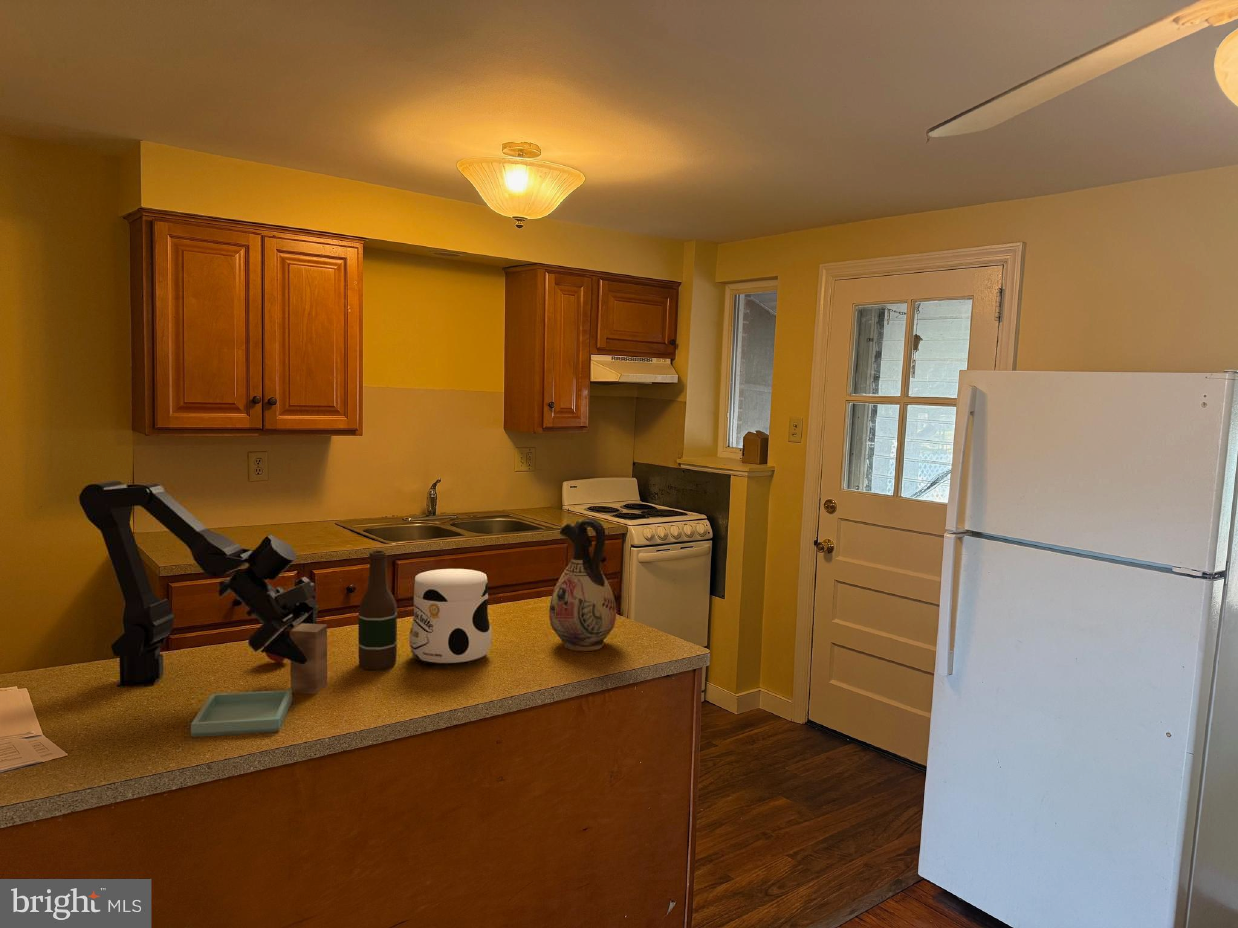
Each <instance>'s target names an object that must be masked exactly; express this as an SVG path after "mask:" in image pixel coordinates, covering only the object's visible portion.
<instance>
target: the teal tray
mask: <svg viewBox="0 0 1238 928" xmlns="http://www.w3.org/2000/svg"><path fill="white" fill-rule="evenodd" d="M292 702H293V693H292V690H291V689H282V690H281V689H280V690H279V689H278V690H265V691H264V690H263V691H245V692H243V691H242V692H227V693H226V692H222V693H211V694H210V696H209V697H208V698H207V700H206V702H204V704H203V706H202V707H201V709H200V710H199V711H198V713H197V715H195V718H194V719H193V721H192V722H191V724H190V737H191V738H198V737H199V738H200V737H203V738H204V737H217V736H219V737H220V736H231V735H249V734H264V733H279V732H280V731H281V728H282V726H283V724H284V722H285V719H286V717H287V714H288V712H289V710H290V706H291V705H292Z"/></svg>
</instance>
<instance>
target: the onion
mask: <svg viewBox="0 0 1238 928" xmlns="http://www.w3.org/2000/svg"><path fill="white" fill-rule="evenodd" d="M264 647H265V645H264ZM264 647H263V648H264ZM264 654H265V656H266V657H267V658H268V659H270V660H271V661H272V662H274V663H277V664H281V663H283V662H285V660H287V659H286V658H283V657H280V656H276V655H273V654H269V653H266V652H264Z"/></svg>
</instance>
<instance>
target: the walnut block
mask: <svg viewBox="0 0 1238 928" xmlns="http://www.w3.org/2000/svg"><path fill="white" fill-rule="evenodd" d="M290 638H291V639H292V640H293V642H294V643H295V644H296V645H297V647H298V648H299V649H300V650H301V652H302V653H303V654H304V656H305V657H306V659H307V662H306V663H305V664H300V663H297V662H294V661H291V660H289V661H290V663H289V664H290V665H289V666H290V667H289V668H290V669H289V670H290V674H289V675H290V690H292V694H303V695H305V694H306V695H318V694H319V693H320V692H321V691H322V690H324V689H325V688H326V686H327V685H328V624H323V623H321V624H320V623H317V624H304V623H301V624H300V625H298V626H297V627H294V628H291V629H290Z"/></svg>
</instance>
